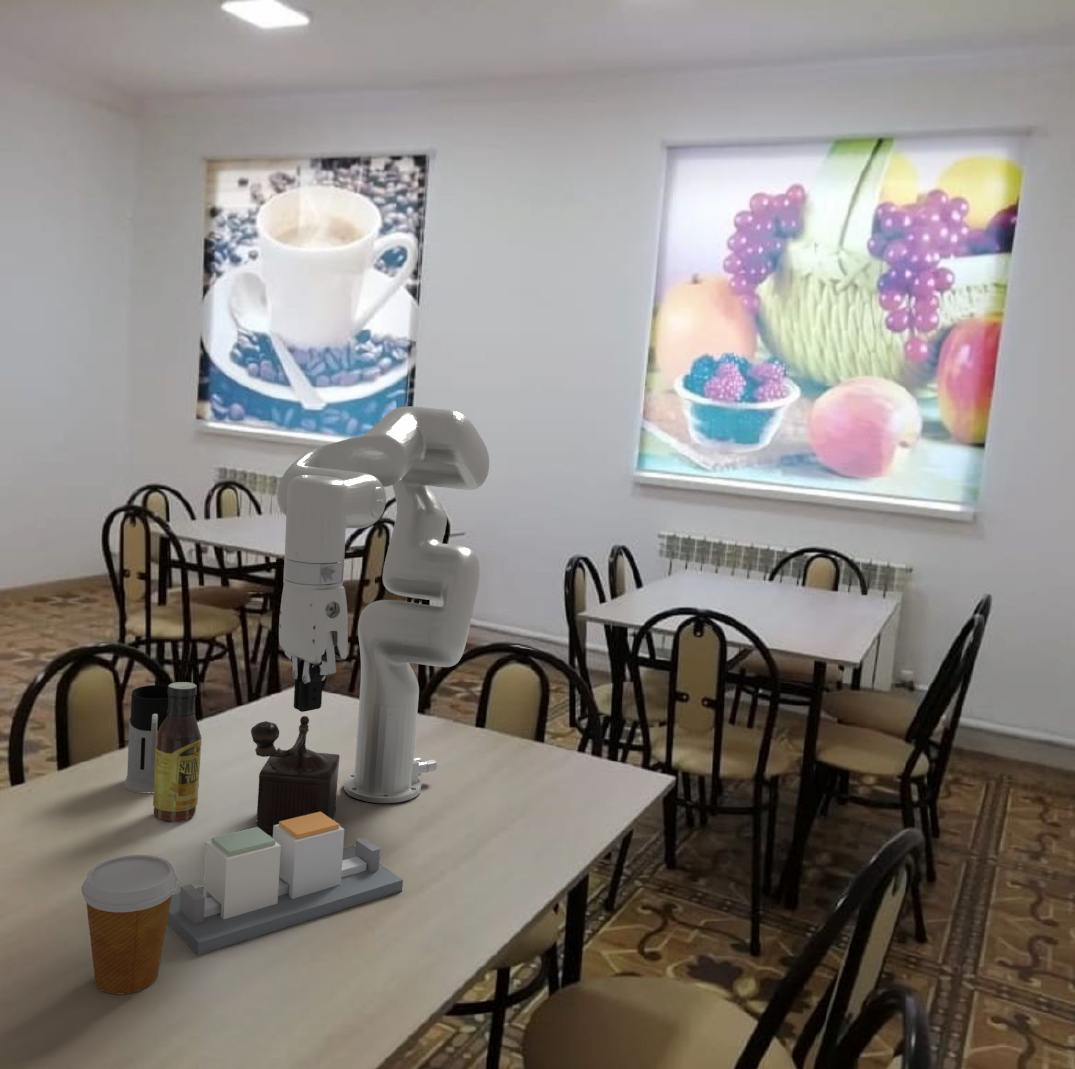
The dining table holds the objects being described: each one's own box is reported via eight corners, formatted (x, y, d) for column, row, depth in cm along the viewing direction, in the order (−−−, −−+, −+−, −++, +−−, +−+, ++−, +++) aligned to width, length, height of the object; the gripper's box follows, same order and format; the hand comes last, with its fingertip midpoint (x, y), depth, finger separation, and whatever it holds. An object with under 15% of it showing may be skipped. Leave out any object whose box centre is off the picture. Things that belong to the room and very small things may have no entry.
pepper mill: (265, 806, 156) (271, 693, 154) (337, 811, 157) (344, 698, 154) (240, 850, 141) (247, 726, 138) (320, 855, 141) (328, 731, 139)
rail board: (353, 855, 142) (357, 790, 141) (402, 890, 133) (407, 821, 132) (155, 910, 123) (158, 835, 122) (198, 955, 114) (201, 875, 113)
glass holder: (182, 771, 167) (186, 683, 165) (181, 806, 153) (185, 710, 151) (125, 773, 164) (129, 683, 162) (119, 808, 150) (122, 711, 149)
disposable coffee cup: (96, 952, 113) (99, 851, 112) (183, 955, 114) (188, 854, 113) (64, 1002, 104) (67, 892, 102) (159, 1005, 105) (164, 896, 103)
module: (318, 867, 134) (321, 809, 133) (340, 884, 130) (344, 824, 129) (270, 881, 130) (273, 821, 129) (292, 899, 126) (295, 837, 125)
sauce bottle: (182, 827, 146) (188, 694, 144) (143, 820, 147) (148, 688, 145) (206, 810, 153) (212, 683, 150) (168, 803, 154) (174, 677, 151)
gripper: (371, 581, 127) (363, 720, 130) (308, 559, 138) (302, 688, 141) (319, 586, 122) (312, 731, 125) (258, 563, 133) (253, 697, 135)
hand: (307, 708), depth 133 cm, fingers closed
